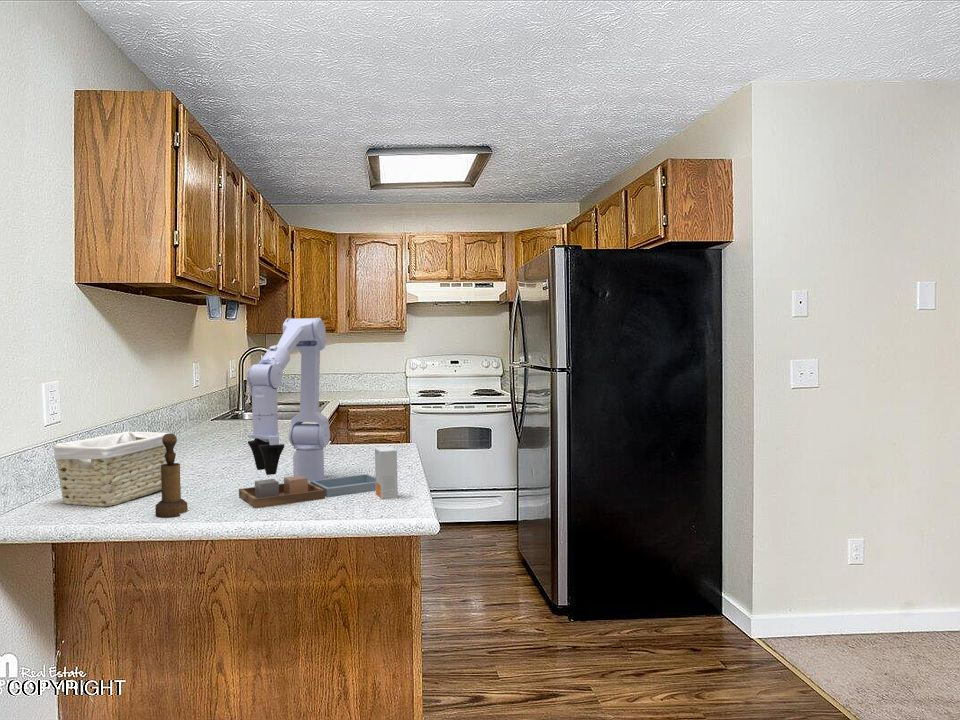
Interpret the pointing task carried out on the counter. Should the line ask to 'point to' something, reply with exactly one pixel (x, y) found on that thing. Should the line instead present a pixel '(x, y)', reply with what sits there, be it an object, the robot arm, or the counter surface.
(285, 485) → the russet cube
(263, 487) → the grey cube
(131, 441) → the storage basket
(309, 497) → the walnut bin
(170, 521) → the counter surface
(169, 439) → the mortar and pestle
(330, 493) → the slate tray
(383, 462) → the skincare box
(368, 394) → the counter surface
